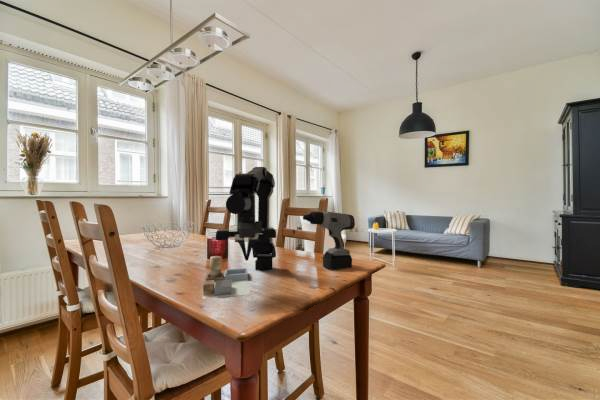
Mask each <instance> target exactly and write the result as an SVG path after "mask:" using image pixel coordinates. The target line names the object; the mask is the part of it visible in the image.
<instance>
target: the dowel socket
mask: <svg viewBox="0 0 600 400" xmlns="http://www.w3.org/2000/svg"><path fill="white" fill-rule="evenodd" d="M224 274H225V271H223V272H222V271H221V277H210V272H209V273H207V274H206V277H205V281H208V280H214V282H216V281H219V280H224Z"/></svg>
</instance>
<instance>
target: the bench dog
mask: <svg viewBox="0 0 600 400" xmlns="http://www.w3.org/2000/svg"><path fill="white" fill-rule="evenodd" d="M202 285H203V286H202V293H203V295H211V294H214V280H208V281H206V280H204V281H203V284H202ZM203 295H202V296H203Z"/></svg>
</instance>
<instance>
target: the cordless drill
mask: <svg viewBox="0 0 600 400" xmlns="http://www.w3.org/2000/svg"><path fill="white" fill-rule="evenodd" d="M302 219H303V220H304V221H307V222H309V224H311V225H318V226H320V227H321V228H323V229H327V231H328V236H329V237H331V238H332V239H333V242H334V244H335V245H334V247H333V248H332V247H331V248H328V249H327V250H326V251H325V253H324V254H323V256H322V266H323V268H324V269H326V270H329V271H337V270H344V269H345V270H346V269H352V268H353V258H352V255H351V254H350V253H351V251H350V250H349V249H347V248H345V242H344V240H343V237H342V231H345V230H354V228H355V225H356V222H355V217H354V216H353V215H352V214H349V213H348V214H347V213H343V212H342V213H341V212H331V211H313V210H312V211H311V212H310V213H307V214H303V216H302Z"/></svg>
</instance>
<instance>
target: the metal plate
mask: <svg viewBox="0 0 600 400" xmlns="http://www.w3.org/2000/svg"><path fill="white" fill-rule="evenodd" d="M231 294H232V279H231V280H219V281H216V283H215V296H220V295H231Z"/></svg>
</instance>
